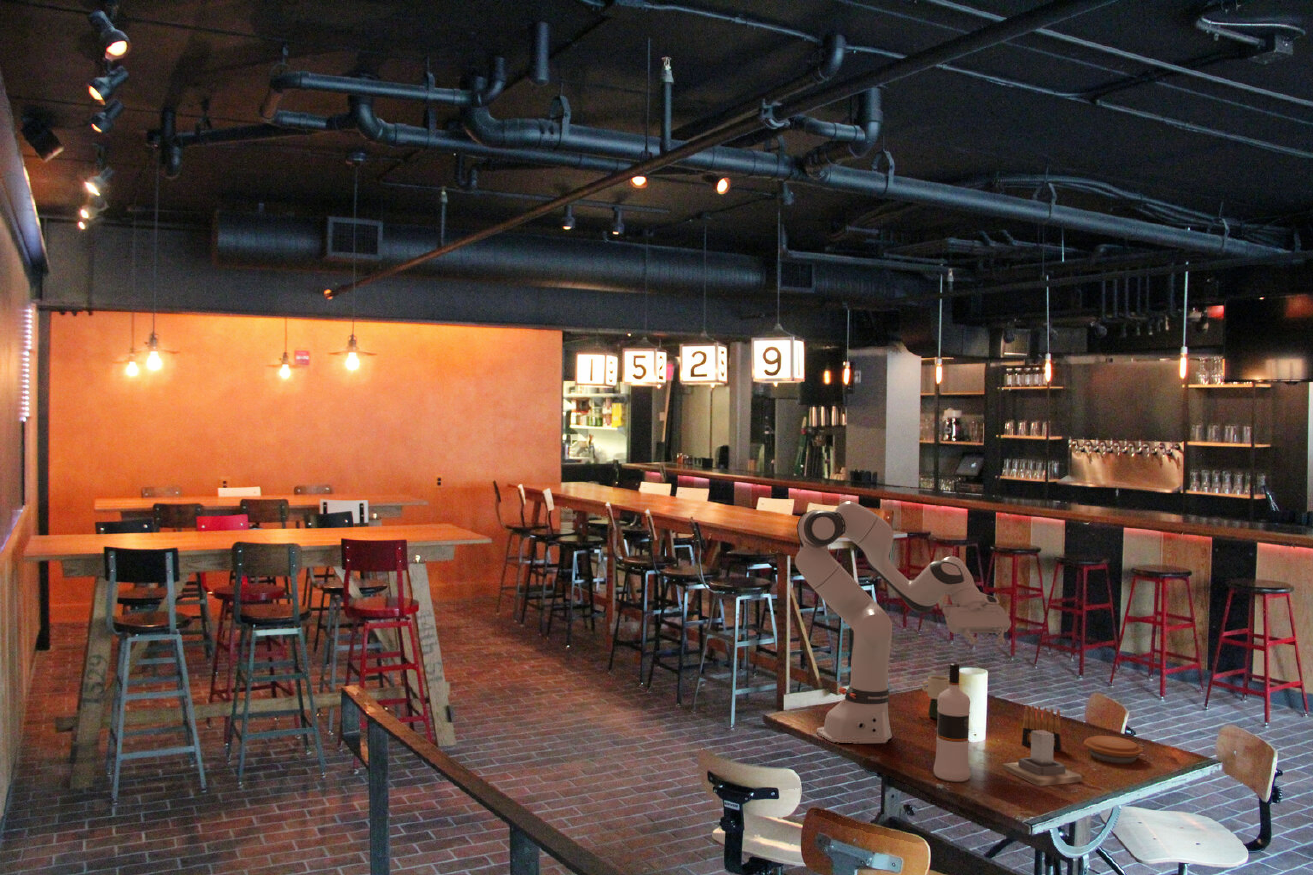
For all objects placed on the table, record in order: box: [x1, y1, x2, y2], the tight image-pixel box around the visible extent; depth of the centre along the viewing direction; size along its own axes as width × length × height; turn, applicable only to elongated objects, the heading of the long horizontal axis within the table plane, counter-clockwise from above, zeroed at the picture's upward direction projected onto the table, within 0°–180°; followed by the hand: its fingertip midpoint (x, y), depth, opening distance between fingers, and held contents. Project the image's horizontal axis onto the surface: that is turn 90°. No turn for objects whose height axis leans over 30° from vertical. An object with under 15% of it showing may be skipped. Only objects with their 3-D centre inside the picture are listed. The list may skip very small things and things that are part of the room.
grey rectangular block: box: [1030, 730, 1055, 767], centre depth 267 cm, size 4×4×10 cm
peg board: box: [1002, 756, 1083, 787], centre depth 267 cm, size 14×14×4 cm
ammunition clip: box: [1021, 704, 1062, 752], centre depth 293 cm, size 11×2×12 cm, turn 58°
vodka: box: [933, 662, 971, 783], centre depth 264 cm, size 9×9×30 cm
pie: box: [1083, 735, 1144, 765], centre depth 285 cm, size 16×16×5 cm
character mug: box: [921, 675, 949, 720], centre depth 322 cm, size 11×7×13 cm, turn 57°
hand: (988, 643), depth 292 cm, fingers open, 8 cm apart
